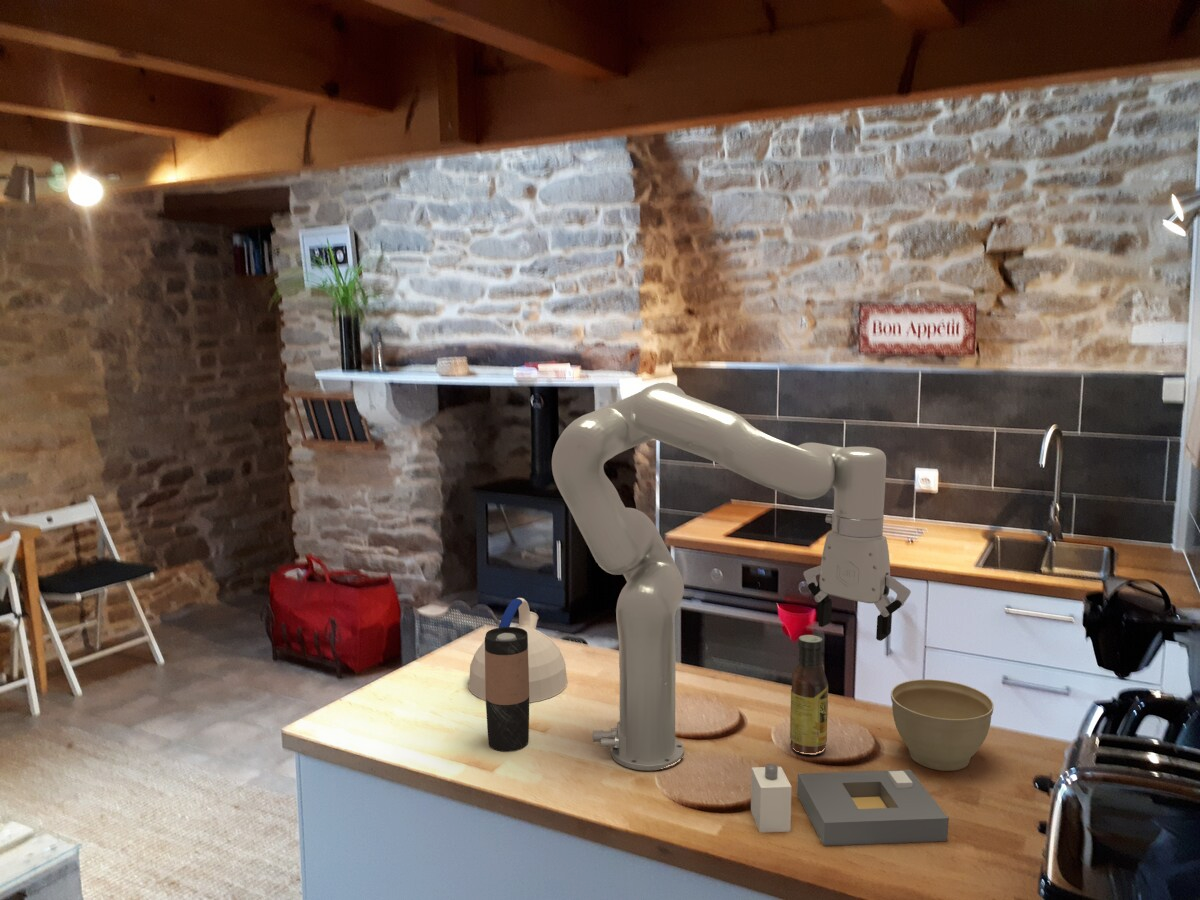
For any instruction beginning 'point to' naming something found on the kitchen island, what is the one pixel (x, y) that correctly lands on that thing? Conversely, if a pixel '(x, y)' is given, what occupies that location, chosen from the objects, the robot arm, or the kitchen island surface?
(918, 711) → the planter bowl
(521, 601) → the kettle
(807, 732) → the sauce bottle
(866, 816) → the socket
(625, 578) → the robot arm
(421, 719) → the kitchen island surface
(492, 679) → the travel mug
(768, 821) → the plug
